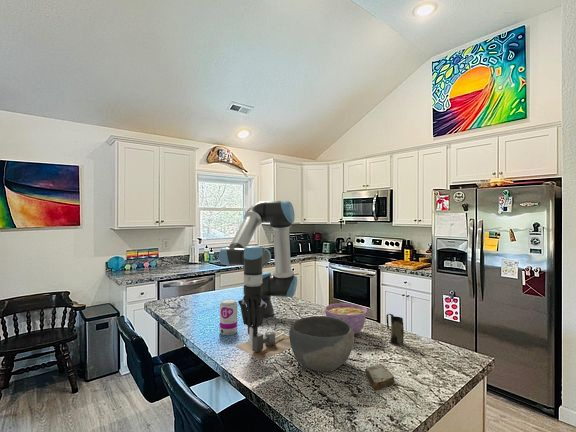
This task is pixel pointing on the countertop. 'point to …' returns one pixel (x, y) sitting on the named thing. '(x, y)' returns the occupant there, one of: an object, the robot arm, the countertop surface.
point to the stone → (379, 377)
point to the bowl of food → (348, 314)
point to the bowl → (321, 342)
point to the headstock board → (268, 347)
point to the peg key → (263, 340)
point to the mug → (396, 330)
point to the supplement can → (228, 317)
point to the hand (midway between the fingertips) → (252, 342)
